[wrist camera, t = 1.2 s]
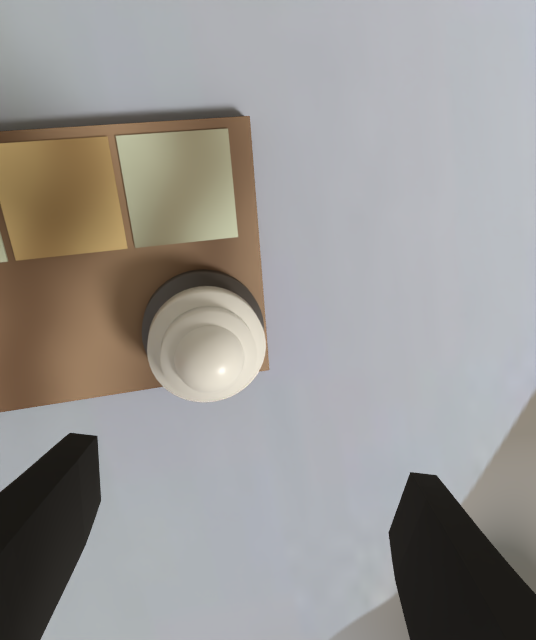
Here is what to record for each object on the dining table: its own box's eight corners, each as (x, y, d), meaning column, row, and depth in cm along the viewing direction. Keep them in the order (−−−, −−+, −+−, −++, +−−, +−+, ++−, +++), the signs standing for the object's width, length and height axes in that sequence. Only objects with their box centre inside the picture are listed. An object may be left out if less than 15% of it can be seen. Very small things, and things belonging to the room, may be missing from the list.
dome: (157, 398, 19) (155, 441, 16) (139, 293, 17) (133, 320, 15) (265, 381, 20) (281, 419, 17) (256, 279, 18) (273, 301, 15)
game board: (-205, 435, 19) (-235, 457, 18) (-348, 154, 15) (-400, 154, 14) (266, 362, 22) (272, 376, 21) (246, 117, 18) (252, 114, 17)
